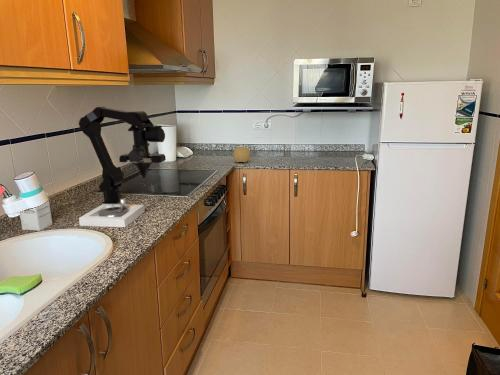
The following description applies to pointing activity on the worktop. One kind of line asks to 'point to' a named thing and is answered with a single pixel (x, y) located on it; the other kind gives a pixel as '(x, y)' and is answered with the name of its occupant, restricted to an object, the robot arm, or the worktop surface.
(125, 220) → the bezel
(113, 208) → the dial
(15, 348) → the worktop surface
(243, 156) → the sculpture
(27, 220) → the supplement box
